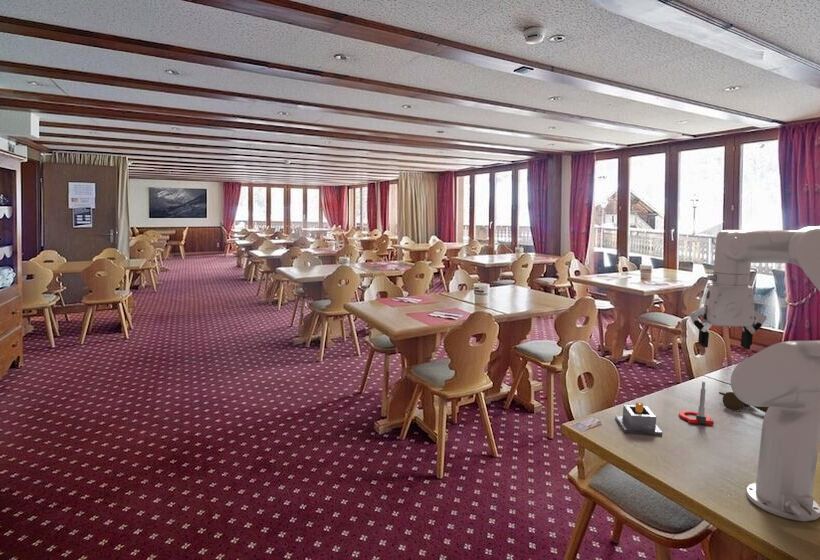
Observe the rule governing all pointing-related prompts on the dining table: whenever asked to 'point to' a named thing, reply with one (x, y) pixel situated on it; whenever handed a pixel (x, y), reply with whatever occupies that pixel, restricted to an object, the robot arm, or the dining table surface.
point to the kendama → (736, 402)
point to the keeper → (637, 431)
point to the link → (639, 418)
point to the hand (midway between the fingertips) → (724, 347)
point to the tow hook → (700, 416)
